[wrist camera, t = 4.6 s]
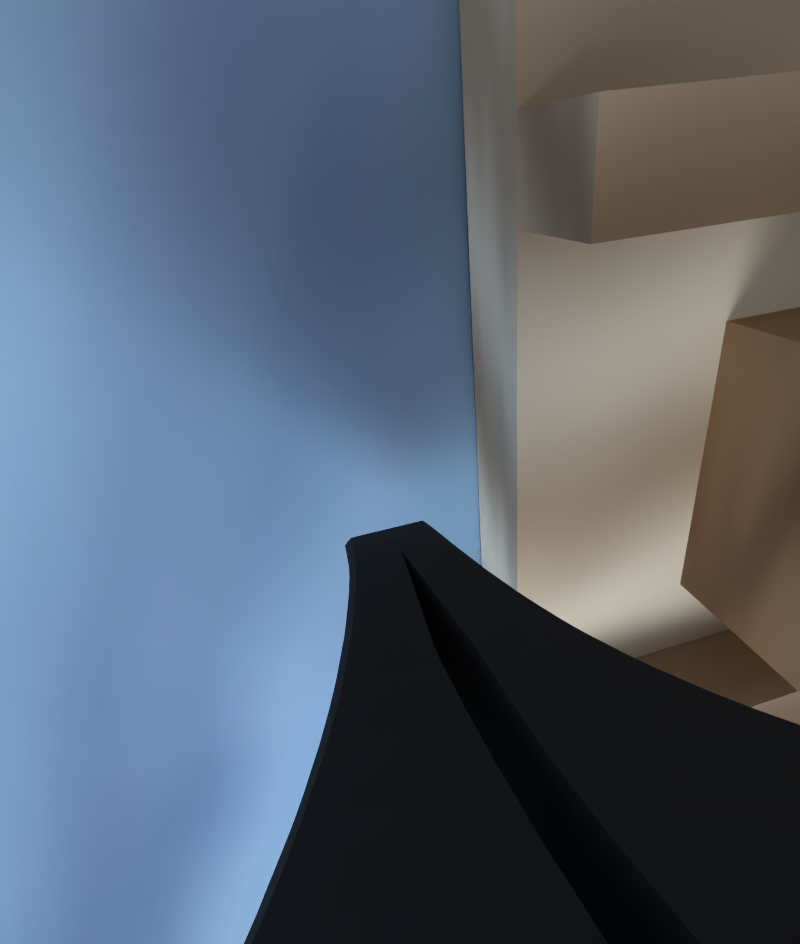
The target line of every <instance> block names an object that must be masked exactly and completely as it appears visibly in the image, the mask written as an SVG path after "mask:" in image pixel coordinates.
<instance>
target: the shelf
mask: <svg viewBox="0 0 800 944" xmlns="http://www.w3.org/2000/svg"><path fill="white" fill-rule="evenodd" d="M459 13H460V38H461V63H462V88H463V113H464V138H465V162H466V187H467V212H468V237H469V262H470V287H471V312H472V337H473V361H474V386H475V411H476V436H477V461H478V486H479V511H480V536H481V560H482V567H484V568H485V569H486V570H488V571H489V572H491V573H492V574H493V575H495V576H496V577H498V578H499V579H501V580H502V581H503V582H505V583H506V584H508V585H509V586H511V587H512V588H513V589H515V590H516V591H518V592H519V593H521V594H522V595H524V596H525V597H527V598H528V599H530V600H531V601H533V602H534V603H536V604H538V605H539V606H541V607H542V608H544V609H546V610H547V611H549V612H551V613H552V614H554V615H555V616H557V617H559V618H560V619H562V620H564V621H565V622H567V623H569V624H570V625H572V626H574V627H576V628H578V629H579V630H581V631H583V632H585V633H587V634H589V635H591V636H592V637H594V638H596V639H598V640H600V641H602V642H604V643H606V644H608V645H610V646H612V647H614V648H616V649H618V650H620V651H622V652H623V653H625V654H627V655H629V656H631V657H634V658H636V659H638V660H640V661H642V662H644V663H646V664H649V665H651V666H653V667H655V668H657V669H659V670H662V671H664V672H666V673H669V674H671V675H673V676H676V677H678V678H680V679H683V680H685V681H687V682H690V683H692V684H694V685H697V686H699V687H701V688H704V689H706V690H708V691H710V692H713V693H715V694H718V695H720V696H723V697H726V698H728V699H731V700H733V701H736V702H739V703H741V704H744V705H746V706H749V707H751V708H754V709H757V710H759V711H762V712H765V713H768V714H771V715H773V716H776V717H779V718H782V719H785V720H788V721H790V722H793V723H796V724H799V725H800V693H799V692H798V691H797V690H796V689H795V688H794V687H793V686H792V685H791V684H790V683H788V682H787V681H786V680H785V679H784V678H783V677H782V676H781V675H780V674H779V673H777V672H776V671H775V670H774V669H773V668H772V667H771V666H770V665H769V664H767V663H766V662H765V661H764V660H763V659H762V658H761V657H760V656H759V655H758V654H756V653H755V652H754V651H753V650H752V649H751V648H750V647H749V646H748V645H747V644H745V643H744V642H743V641H742V640H741V639H740V638H739V637H738V636H737V635H736V634H734V633H733V632H732V631H731V630H730V629H729V628H728V627H727V626H726V625H725V624H723V623H722V622H721V621H720V620H719V619H718V618H717V617H716V616H715V615H714V614H712V613H711V612H710V611H709V610H708V609H707V608H706V607H705V606H704V605H702V604H701V603H700V602H699V601H698V600H697V599H696V598H695V597H694V596H693V595H691V594H690V593H689V592H688V591H687V590H686V589H685V588H684V587H683V586H682V585H680V582H681V576H682V570H683V565H684V559H685V553H686V548H687V542H688V536H689V531H690V525H691V519H692V514H693V508H694V502H695V497H696V491H697V485H698V480H699V474H700V468H701V463H702V457H703V451H704V446H705V440H706V434H707V429H708V423H709V417H710V412H711V406H712V400H713V395H714V389H715V383H716V378H717V372H718V366H719V361H720V355H721V349H722V344H723V338H724V332H725V327H726V321H729V320H734V319H740V318H745V317H750V316H755V315H761V314H766V313H771V312H776V311H781V310H787V309H792V308H797V307H800V0H459Z"/></svg>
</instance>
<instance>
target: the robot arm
mask: <svg viewBox="0 0 800 944" xmlns="http://www.w3.org/2000/svg"><path fill="white" fill-rule="evenodd" d="M345 547H346V553H347V558H348V563H349V573H350V579H349V600H348V610H347V620H346V629H345V636H344V642H343V647H342V652H341V658H340V663H339V669H338V674H337V679H336V684H335V688H334V692H333V697H332V701H331V705H330V709H329V713H328V716H327V720H326V724H325V727H324V731H323V734H322V738H321V742H320V745H319V748H318V751H317V754H316V758H315V761H314V764H313V767H312V770H311V773H310V776H309V779H308V782H307V785H306V788H305V792H304V795H303V797H302V800H301V803H300V806H299V809H298V812H297V814H296V817H295V820H294V823H293V825H292V828H291V831H290V833H289V836H288V838H287V841H286V843H285V846H284V848H283V851H282V853H281V856H280V858H279V861H278V863H277V865H276V868H275V870H274V873H273V875H272V878H271V880H270V883H269V885H268V888H267V890H266V893H265V895H264V898H263V900H262V903H261V905H260V908H259V910H258V913H257V915H256V917H255V920H254V922H253V924H252V927H251V929H250V931H249V933H248V936H247V938H246V940H245V943H244V944H800V725H799V724H796V723H793V722H790V721H788V720H785V719H782V718H779V717H776V716H773V715H771V714H768V713H765V712H762V711H759V710H757V709H754V708H751V707H749V706H746V705H744V704H741V703H739V702H736V701H733V700H731V699H728V698H726V697H723V696H720V695H718V694H715V693H713V692H710V691H708V690H706V689H704V688H701V687H699V686H697V685H694V684H692V683H690V682H687V681H685V680H683V679H680V678H678V677H676V676H673V675H671V674H669V673H666V672H664V671H662V670H659V669H657V668H655V667H653V666H651V665H649V664H646V663H644V662H642V661H640V660H638V659H636V658H634V657H631V656H629V655H627V654H625V653H623V652H622V651H620V650H618V649H616V648H614V647H612V646H610V645H608V644H606V643H604V642H602V641H600V640H598V639H596V638H594V637H592V636H591V635H589V634H587V633H585V632H583V631H581V630H579V629H578V628H576V627H574V626H572V625H570V624H569V623H567V622H565V621H564V620H562V619H560V618H559V617H557V616H555V615H554V614H552V613H551V612H549V611H547V610H546V609H544V608H542V607H541V606H539V605H538V604H536V603H534V602H533V601H531V600H530V599H528V598H527V597H525V596H524V595H522V594H521V593H519V592H518V591H516V590H515V589H513V588H512V587H511V586H509V585H508V584H506V583H505V582H503V581H502V580H501V579H499V578H498V577H496V576H495V575H493V574H492V573H491V572H489V571H488V570H486V569H485V568H484V567H482V566H481V565H480V564H478V563H477V562H476V561H474V560H473V559H472V558H470V557H469V556H468V555H466V554H465V553H464V552H462V551H461V550H460V549H459V548H457V547H456V546H455V545H453V544H452V543H451V542H450V541H448V540H447V539H446V538H445V537H443V536H442V535H441V534H440V533H438V532H437V531H436V530H435V529H433V528H432V527H431V526H430V525H428V524H427V523H425V522H424V521H419V522H415V523H411V524H407V525H403V526H398V527H394V528H390V529H386V530H382V531H378V532H373V533H369V534H365V535H361V536H357V537H353V538H351V539H350V540H349V541H348V542H347V544H346V545H345Z"/></svg>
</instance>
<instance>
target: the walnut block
mask: <svg viewBox="0 0 800 944" xmlns="http://www.w3.org/2000/svg"><path fill="white" fill-rule="evenodd" d="M680 585H682V586H683V587H684V588H685V589H686V590H687V591H688V592H689V593H690V594H691V595H693V596H694V597H695V598H696V599H697V600H698V601H699V602H700V603H701V604H702V605H704V606H705V607H706V608H707V609H708V610H709V611H710V612H711V613H712V614H714V615H715V616H716V617H717V618H718V619H719V620H720V621H721V622H722V623H723V624H725V625H726V626H727V627H728V628H729V629H730V630H731V631H732V632H733V633H734V634H736V635H737V636H738V637H739V638H740V639H741V640H742V641H743V642H744V643H745V644H747V645H748V646H749V647H750V648H751V649H752V650H753V651H754V652H755V653H756V654H758V655H759V656H760V657H761V658H762V659H763V660H764V661H765V662H766V663H767V664H769V665H770V666H771V667H772V668H773V669H774V670H775V671H776V672H777V673H779V674H780V675H781V676H782V677H783V678H784V679H785V680H786V681H787V682H788V683H790V684H791V685H792V686H793V687H794V688H795V689H796V690H797V691H798V692H799V693H800V307H797V308H792V309H787V310H781V311H776V312H771V313H766V314H761V315H755V316H750V317H745V318H740V319H734V320H729V321H726V327H725V332H724V338H723V344H722V349H721V355H720V361H719V366H718V372H717V378H716V383H715V389H714V395H713V400H712V406H711V412H710V417H709V423H708V429H707V434H706V440H705V446H704V451H703V457H702V463H701V468H700V474H699V480H698V485H697V491H696V497H695V502H694V508H693V514H692V519H691V525H690V531H689V536H688V542H687V548H686V553H685V559H684V565H683V570H682V576H681V582H680Z"/></svg>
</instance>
